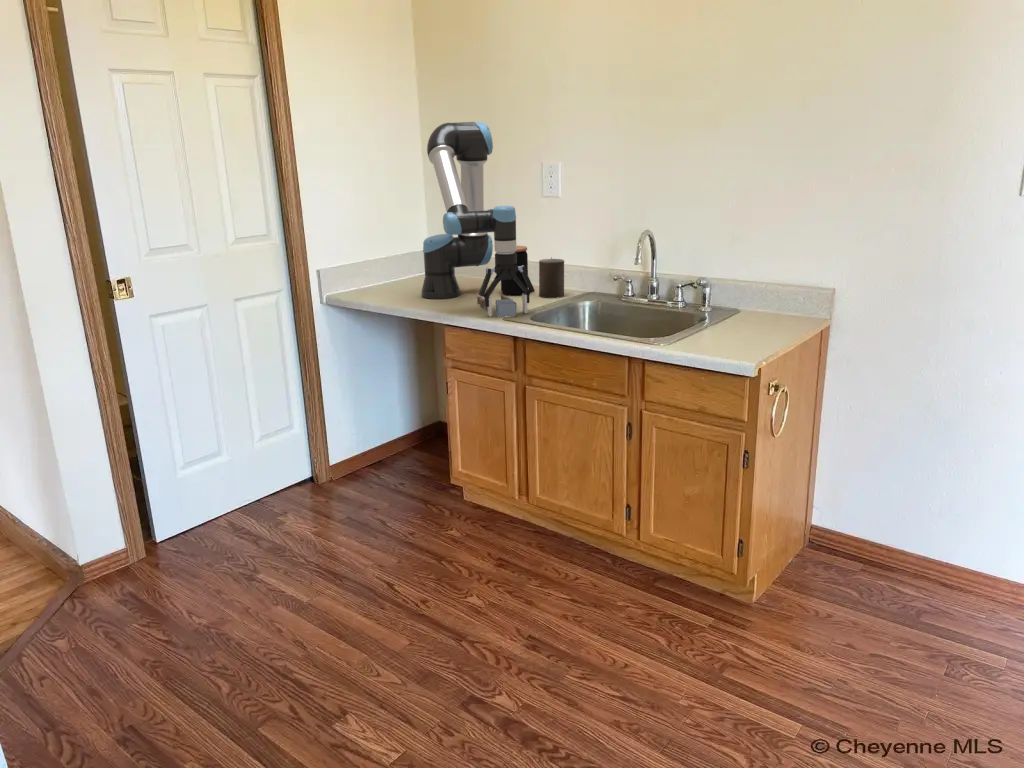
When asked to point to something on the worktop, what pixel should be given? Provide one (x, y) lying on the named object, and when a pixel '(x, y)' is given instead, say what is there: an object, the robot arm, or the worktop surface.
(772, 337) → the worktop surface
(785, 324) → the worktop surface
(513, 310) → the slate block
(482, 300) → the walnut channel
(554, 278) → the pillar candle
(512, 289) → the coffee jar
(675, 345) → the worktop surface
